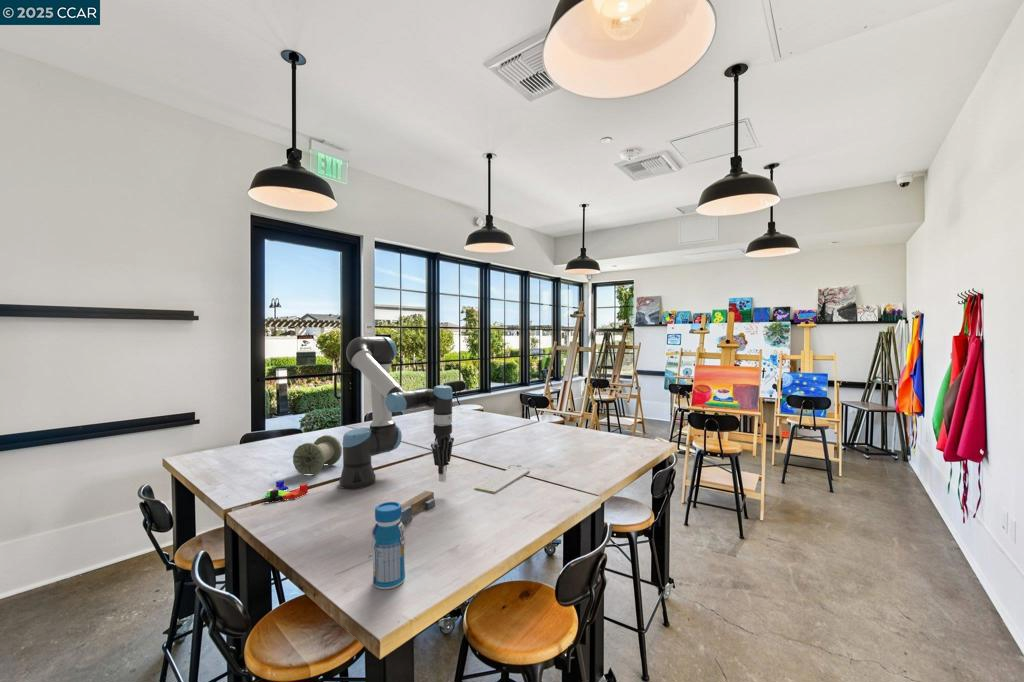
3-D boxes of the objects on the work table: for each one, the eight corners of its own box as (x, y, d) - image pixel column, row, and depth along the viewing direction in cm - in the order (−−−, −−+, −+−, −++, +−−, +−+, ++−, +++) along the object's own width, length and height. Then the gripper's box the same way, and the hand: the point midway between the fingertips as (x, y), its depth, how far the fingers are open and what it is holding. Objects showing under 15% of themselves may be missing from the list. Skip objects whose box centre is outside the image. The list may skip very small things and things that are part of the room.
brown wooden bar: (394, 518, 151) (394, 507, 151) (425, 500, 167) (425, 490, 167) (403, 521, 149) (403, 509, 149) (433, 502, 166) (433, 492, 166)
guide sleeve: (410, 505, 162) (410, 499, 162) (417, 502, 165) (417, 495, 165) (428, 509, 158) (428, 503, 158) (434, 506, 161) (434, 499, 161)
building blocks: (252, 501, 168) (252, 490, 168) (280, 490, 180) (280, 480, 180) (281, 506, 163) (281, 495, 163) (308, 494, 175) (307, 484, 175)
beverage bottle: (383, 595, 106) (382, 515, 106) (366, 582, 112) (365, 506, 112) (412, 580, 112) (411, 505, 112) (394, 568, 118) (393, 497, 118)
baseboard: (470, 490, 179) (494, 495, 173) (470, 483, 179) (494, 488, 173) (507, 469, 206) (529, 473, 200) (507, 463, 206) (529, 467, 200)
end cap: (377, 523, 146) (377, 510, 146) (393, 514, 154) (393, 502, 153) (396, 528, 143) (395, 515, 142) (412, 519, 150) (411, 506, 150)
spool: (314, 464, 215) (313, 434, 215) (341, 465, 213) (341, 435, 213) (293, 475, 199) (292, 443, 199) (322, 476, 197) (322, 444, 197)
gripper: (440, 428, 165) (440, 487, 166) (459, 421, 177) (459, 477, 178) (425, 425, 169) (424, 484, 169) (445, 419, 180) (444, 474, 181)
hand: (442, 480), depth 173 cm, fingers closed
